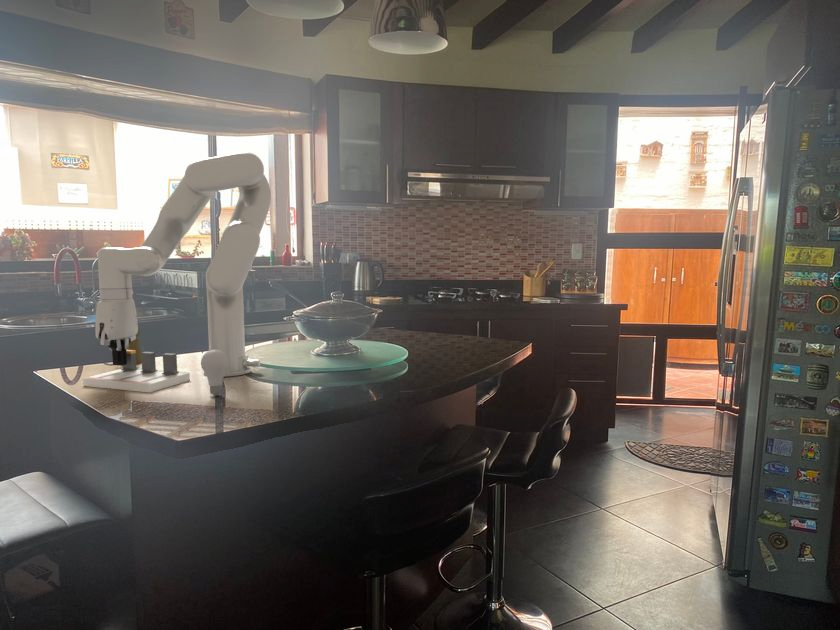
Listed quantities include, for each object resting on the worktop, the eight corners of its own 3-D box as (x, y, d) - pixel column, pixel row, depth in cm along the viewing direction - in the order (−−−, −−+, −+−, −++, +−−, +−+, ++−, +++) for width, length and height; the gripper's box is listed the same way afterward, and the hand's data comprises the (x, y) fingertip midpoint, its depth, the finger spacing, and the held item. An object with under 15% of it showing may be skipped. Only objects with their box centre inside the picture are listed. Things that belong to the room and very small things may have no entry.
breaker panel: (127, 374, 162) (126, 367, 162) (189, 380, 155) (189, 372, 155) (83, 385, 149) (82, 377, 149) (149, 392, 142) (149, 384, 142)
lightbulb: (214, 400, 135) (212, 352, 133) (196, 396, 138) (194, 350, 137) (235, 394, 140) (233, 349, 139) (218, 391, 143) (216, 346, 142)
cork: (147, 361, 182) (145, 325, 181) (135, 364, 176) (133, 328, 175) (128, 360, 182) (126, 325, 181) (116, 364, 176) (114, 328, 175)
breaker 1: (149, 370, 158) (148, 351, 157) (158, 370, 157) (157, 351, 156) (139, 372, 155) (138, 353, 154) (148, 373, 154) (147, 353, 153)
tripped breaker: (129, 367, 160) (128, 349, 160) (138, 368, 159) (137, 349, 159) (120, 370, 157) (119, 351, 157) (129, 371, 156) (128, 351, 156)
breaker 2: (170, 371, 155) (169, 352, 155) (179, 372, 154) (178, 353, 154) (161, 374, 152) (160, 354, 152) (170, 374, 151) (169, 355, 151)
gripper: (127, 292, 161) (130, 358, 163) (80, 297, 147) (84, 369, 149) (149, 293, 159) (152, 360, 161) (104, 297, 145) (108, 371, 147)
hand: (120, 364), depth 155 cm, fingers closed
